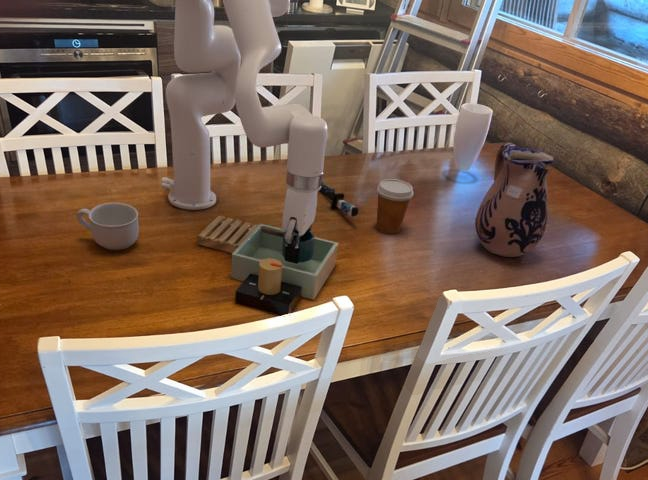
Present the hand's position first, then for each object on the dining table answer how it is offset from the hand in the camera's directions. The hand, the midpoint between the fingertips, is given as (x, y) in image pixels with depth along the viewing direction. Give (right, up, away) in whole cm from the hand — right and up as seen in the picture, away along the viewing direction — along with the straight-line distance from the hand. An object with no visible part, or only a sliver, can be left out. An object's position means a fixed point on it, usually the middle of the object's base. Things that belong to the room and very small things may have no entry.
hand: (297, 253), depth 142 cm
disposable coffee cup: (+23, +11, +27) cm, 37 cm away
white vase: (+50, +35, +61) cm, 87 cm away
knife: (+8, +20, +35) cm, 42 cm away
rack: (-17, +5, +12) cm, 22 cm away
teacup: (-44, +3, +6) cm, 44 cm away
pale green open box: (-3, -4, +4) cm, 6 cm away
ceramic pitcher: (+52, +6, +26) cm, 59 cm away
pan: (-3, 0, +1) cm, 3 cm away
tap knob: (-6, -9, -8) cm, 13 cm away
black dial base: (-6, -11, -6) cm, 14 cm away
